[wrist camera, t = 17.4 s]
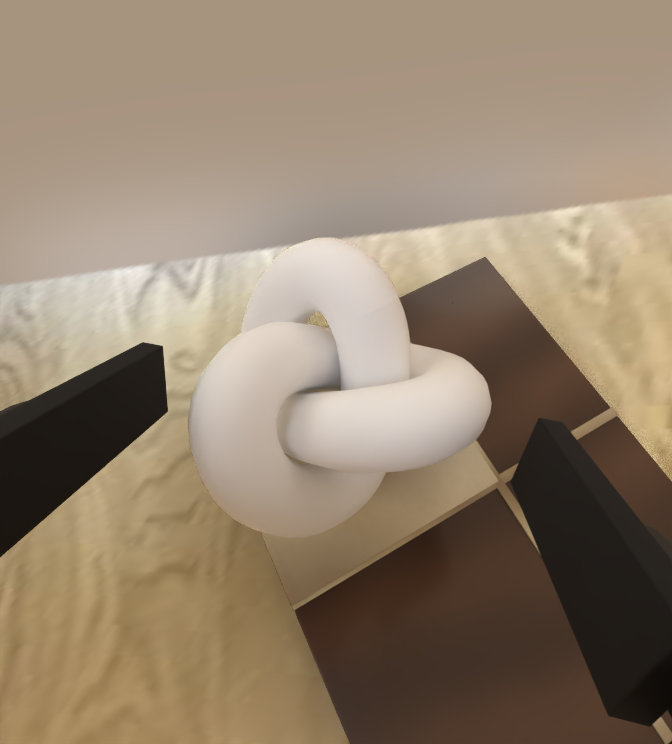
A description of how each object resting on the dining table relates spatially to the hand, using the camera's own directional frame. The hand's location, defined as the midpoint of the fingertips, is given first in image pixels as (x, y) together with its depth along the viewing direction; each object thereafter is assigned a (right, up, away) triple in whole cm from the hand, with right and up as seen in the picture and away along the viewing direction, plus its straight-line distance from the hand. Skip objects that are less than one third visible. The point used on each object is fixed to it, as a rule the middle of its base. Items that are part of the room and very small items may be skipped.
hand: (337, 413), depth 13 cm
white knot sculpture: (-1, -2, +7) cm, 8 cm away
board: (+7, -6, +7) cm, 11 cm away
